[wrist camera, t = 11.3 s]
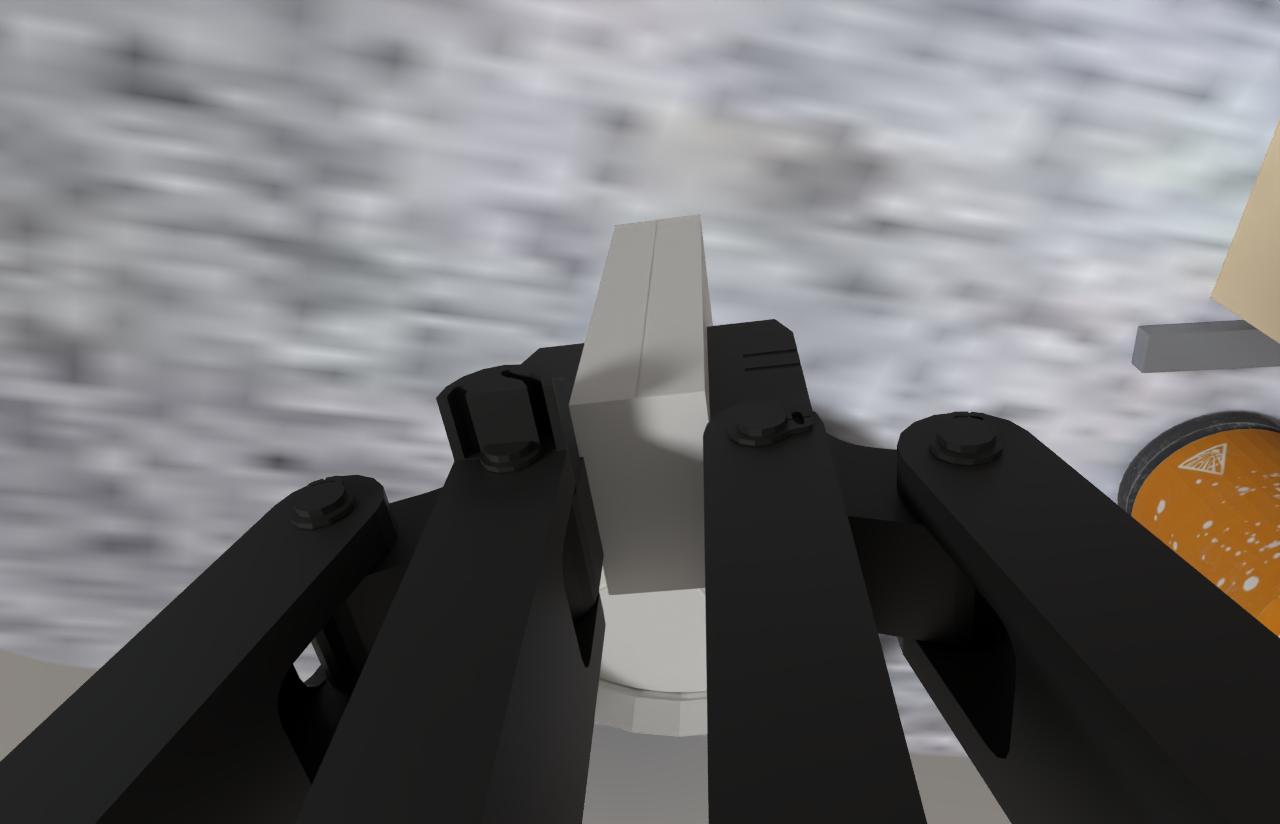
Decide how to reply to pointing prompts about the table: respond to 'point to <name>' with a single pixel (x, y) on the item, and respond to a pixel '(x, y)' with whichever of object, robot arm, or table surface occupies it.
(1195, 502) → the canister
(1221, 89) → the table surface
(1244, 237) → the carton
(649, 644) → the dish
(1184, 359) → the dark grey flat u-shape
